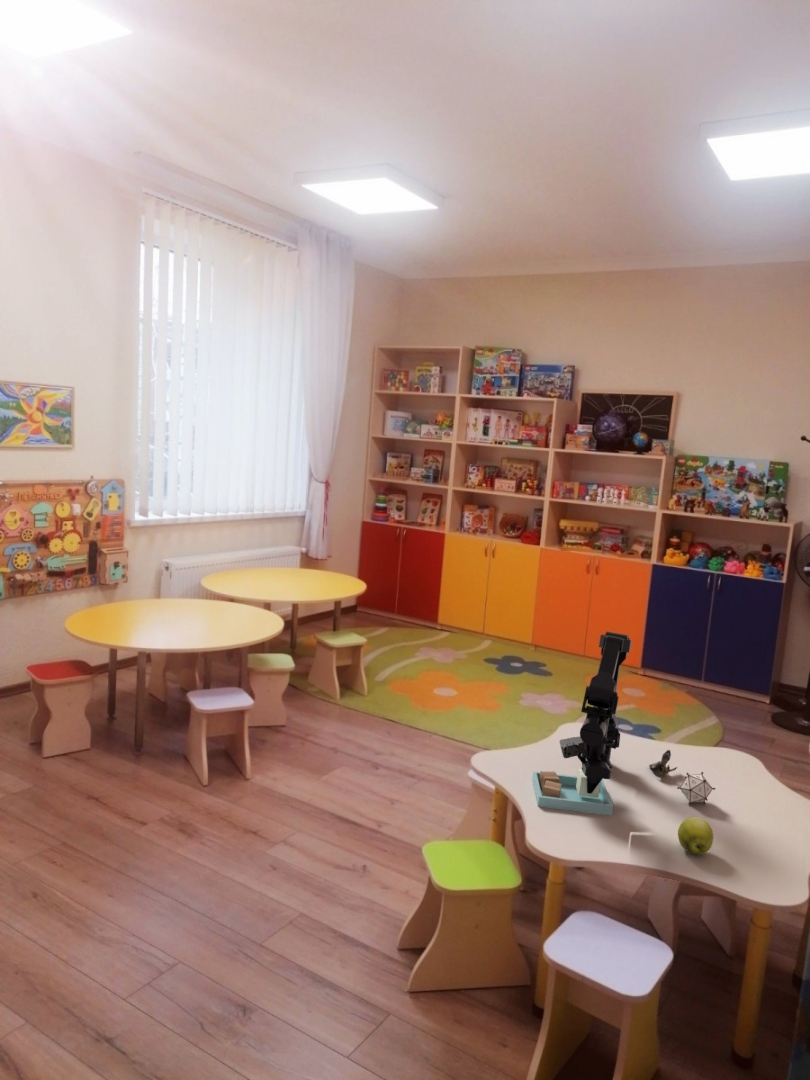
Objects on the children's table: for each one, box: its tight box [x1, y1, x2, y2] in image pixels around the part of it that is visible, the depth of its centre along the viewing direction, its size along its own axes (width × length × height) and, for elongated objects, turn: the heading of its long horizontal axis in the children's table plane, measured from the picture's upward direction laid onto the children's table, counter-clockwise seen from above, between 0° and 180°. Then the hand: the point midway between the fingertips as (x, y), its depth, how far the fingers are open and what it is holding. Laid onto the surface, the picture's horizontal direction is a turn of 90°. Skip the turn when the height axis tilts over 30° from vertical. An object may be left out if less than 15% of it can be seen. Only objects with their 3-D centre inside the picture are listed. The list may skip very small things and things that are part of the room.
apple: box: [677, 816, 714, 855], centre depth 183 cm, size 8×9×8 cm
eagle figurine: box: [648, 749, 678, 780], centre depth 225 cm, size 8×7×9 cm
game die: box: [676, 771, 716, 806], centre depth 208 cm, size 9×8×10 cm
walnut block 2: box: [543, 780, 562, 798], centre depth 201 cm, size 4×4×4 cm
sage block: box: [576, 768, 601, 798], centre depth 203 cm, size 5×5×5 cm
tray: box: [531, 771, 614, 816], centre depth 203 cm, size 15×19×3 cm
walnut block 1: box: [539, 770, 559, 792], centre depth 206 cm, size 4×4×4 cm
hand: (587, 788), depth 203 cm, fingers closed on sage block, 5 cm apart
